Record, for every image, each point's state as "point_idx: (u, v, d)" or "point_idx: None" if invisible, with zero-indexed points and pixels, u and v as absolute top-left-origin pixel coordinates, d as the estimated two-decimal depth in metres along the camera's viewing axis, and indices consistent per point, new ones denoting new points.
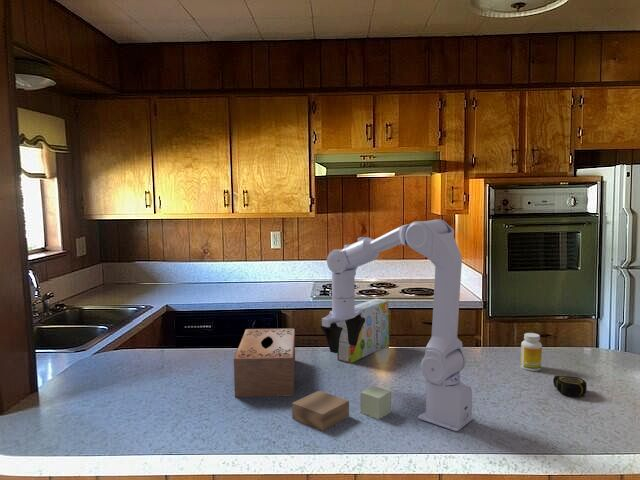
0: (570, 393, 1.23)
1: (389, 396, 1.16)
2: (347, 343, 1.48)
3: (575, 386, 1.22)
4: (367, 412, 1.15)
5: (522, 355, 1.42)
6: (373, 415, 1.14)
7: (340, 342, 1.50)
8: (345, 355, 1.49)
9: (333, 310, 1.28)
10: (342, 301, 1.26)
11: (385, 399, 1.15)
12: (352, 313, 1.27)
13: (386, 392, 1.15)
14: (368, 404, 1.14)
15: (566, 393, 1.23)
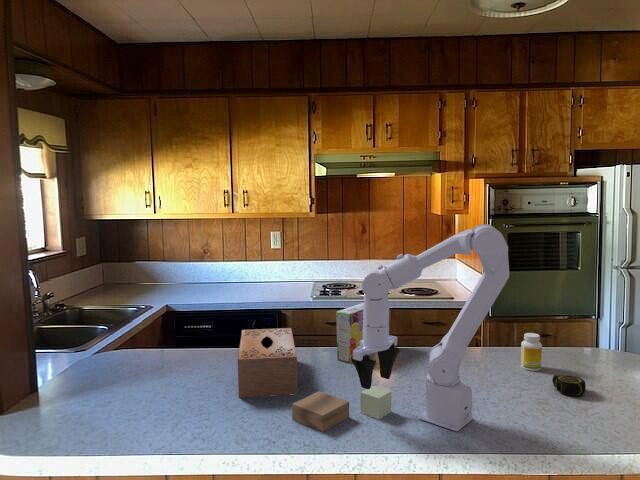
0: (569, 392, 1.23)
1: (389, 396, 1.16)
2: (347, 343, 1.48)
3: (574, 385, 1.23)
4: (367, 412, 1.15)
5: (522, 355, 1.42)
6: (373, 415, 1.14)
7: (340, 342, 1.50)
8: (345, 355, 1.49)
9: (364, 340, 1.13)
10: (375, 330, 1.11)
11: (385, 399, 1.15)
12: (386, 344, 1.13)
13: (386, 392, 1.15)
14: (368, 404, 1.14)
15: (565, 392, 1.24)
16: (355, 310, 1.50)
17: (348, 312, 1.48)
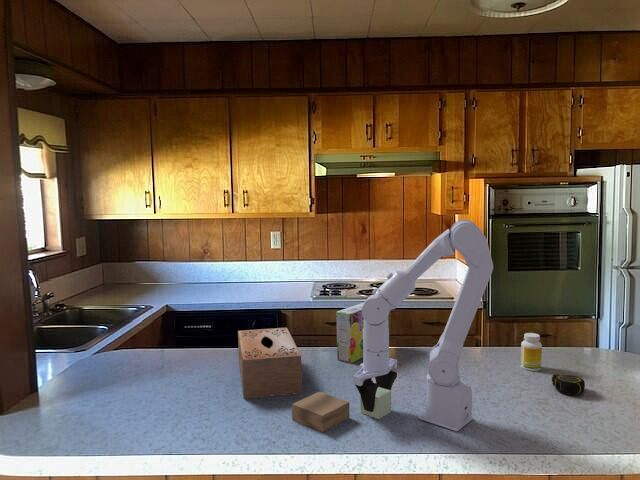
0: (568, 392, 1.24)
1: (389, 396, 1.16)
2: (347, 343, 1.48)
3: (573, 385, 1.23)
4: (367, 412, 1.15)
5: (522, 355, 1.42)
6: (373, 415, 1.14)
7: (340, 342, 1.50)
8: (345, 355, 1.49)
9: (364, 364, 1.14)
10: (375, 355, 1.12)
11: (385, 398, 1.15)
12: (386, 368, 1.13)
13: (386, 392, 1.15)
14: None
15: (564, 392, 1.24)
16: (355, 310, 1.50)
17: (348, 312, 1.48)
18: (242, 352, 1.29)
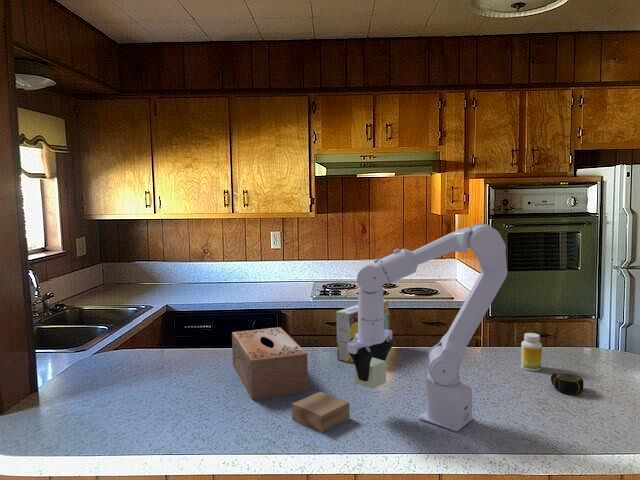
0: (567, 391, 1.24)
1: (384, 366, 1.15)
2: (347, 343, 1.48)
3: (572, 384, 1.24)
4: (361, 382, 1.14)
5: (522, 355, 1.42)
6: (367, 384, 1.13)
7: (340, 342, 1.50)
8: (345, 355, 1.49)
9: (359, 333, 1.13)
10: (370, 324, 1.11)
11: (380, 368, 1.14)
12: (381, 337, 1.12)
13: (381, 362, 1.14)
14: None
15: (563, 390, 1.25)
16: (355, 310, 1.50)
17: (348, 312, 1.48)
18: (247, 353, 1.29)
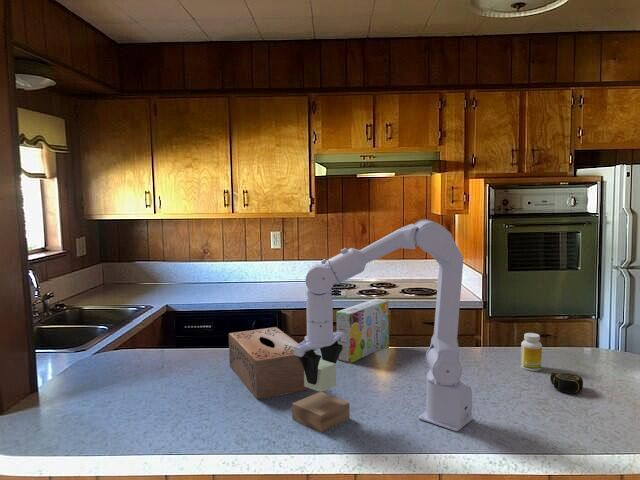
0: (566, 390, 1.25)
1: (333, 368, 1.13)
2: (347, 343, 1.48)
3: (571, 383, 1.24)
4: (310, 385, 1.12)
5: (522, 355, 1.42)
6: (316, 387, 1.11)
7: (340, 342, 1.50)
8: (345, 355, 1.49)
9: (307, 336, 1.11)
10: (318, 326, 1.09)
11: (329, 371, 1.12)
12: (330, 339, 1.10)
13: (330, 364, 1.12)
14: None
15: (562, 390, 1.25)
16: (355, 310, 1.50)
17: (348, 312, 1.48)
18: (249, 353, 1.28)
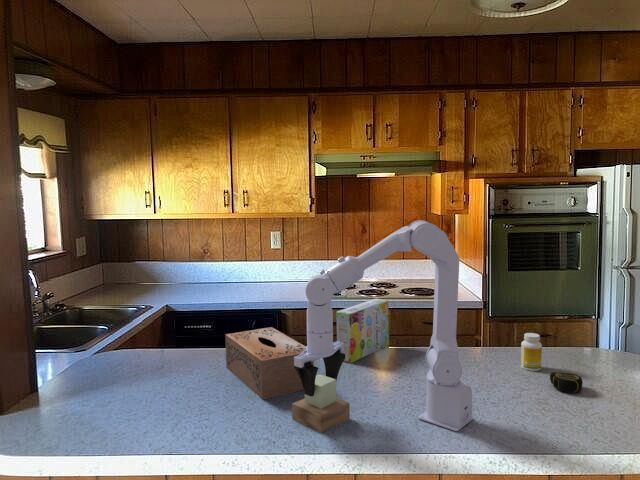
0: (566, 389, 1.25)
1: (333, 384, 1.13)
2: (347, 343, 1.48)
3: (571, 382, 1.25)
4: (311, 401, 1.12)
5: (522, 355, 1.42)
6: (316, 404, 1.11)
7: None
8: (345, 355, 1.49)
9: (308, 346, 1.11)
10: (318, 337, 1.09)
11: (329, 387, 1.12)
12: (330, 350, 1.11)
13: (330, 380, 1.13)
14: None
15: (562, 389, 1.26)
16: (355, 310, 1.50)
17: (348, 312, 1.48)
18: (253, 354, 1.28)
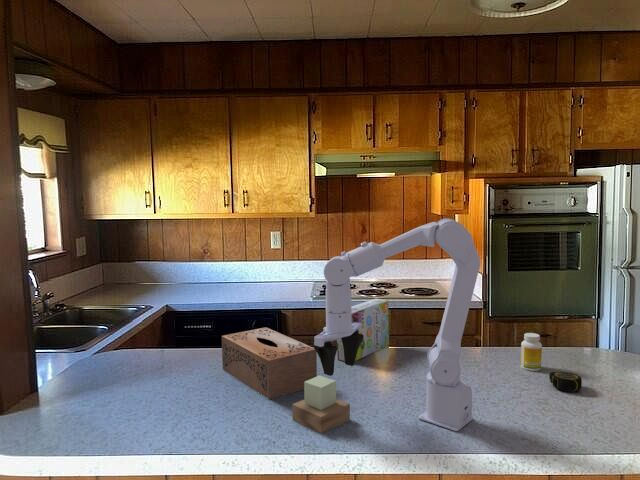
0: (565, 388, 1.26)
1: (333, 386, 1.12)
2: None
3: (570, 382, 1.25)
4: (310, 402, 1.12)
5: (522, 355, 1.42)
6: (316, 405, 1.10)
7: (340, 342, 1.50)
8: None
9: (327, 327, 1.13)
10: (337, 316, 1.11)
11: (329, 388, 1.11)
12: (349, 330, 1.12)
13: (330, 382, 1.12)
14: (311, 394, 1.11)
15: (561, 388, 1.26)
16: (355, 310, 1.50)
17: None
18: (257, 354, 1.28)
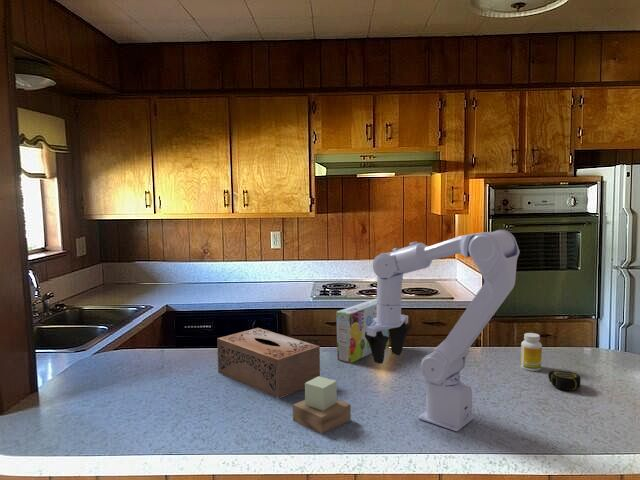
0: (564, 387, 1.26)
1: (334, 386, 1.12)
2: (347, 343, 1.48)
3: (569, 380, 1.26)
4: (312, 403, 1.11)
5: (522, 355, 1.42)
6: (318, 406, 1.10)
7: (340, 342, 1.50)
8: (345, 355, 1.49)
9: (378, 318, 1.19)
10: (389, 308, 1.17)
11: (330, 389, 1.11)
12: (398, 321, 1.19)
13: (331, 382, 1.12)
14: (312, 395, 1.11)
15: (560, 387, 1.27)
16: (355, 310, 1.50)
17: (348, 312, 1.48)
18: (263, 354, 1.28)
